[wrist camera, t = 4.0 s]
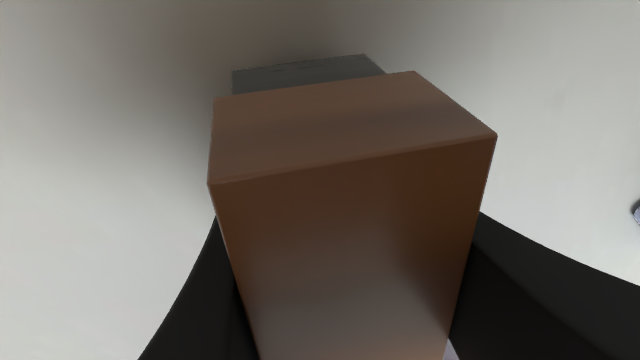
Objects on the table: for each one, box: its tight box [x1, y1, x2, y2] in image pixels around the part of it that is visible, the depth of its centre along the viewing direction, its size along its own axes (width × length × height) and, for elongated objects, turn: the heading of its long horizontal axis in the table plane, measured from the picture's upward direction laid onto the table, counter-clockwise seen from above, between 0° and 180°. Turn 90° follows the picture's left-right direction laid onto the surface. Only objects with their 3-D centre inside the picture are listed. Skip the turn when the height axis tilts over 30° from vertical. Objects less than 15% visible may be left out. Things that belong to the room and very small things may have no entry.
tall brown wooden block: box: [207, 54, 497, 360], centre depth 10 cm, size 8×4×6 cm, turn 4°
